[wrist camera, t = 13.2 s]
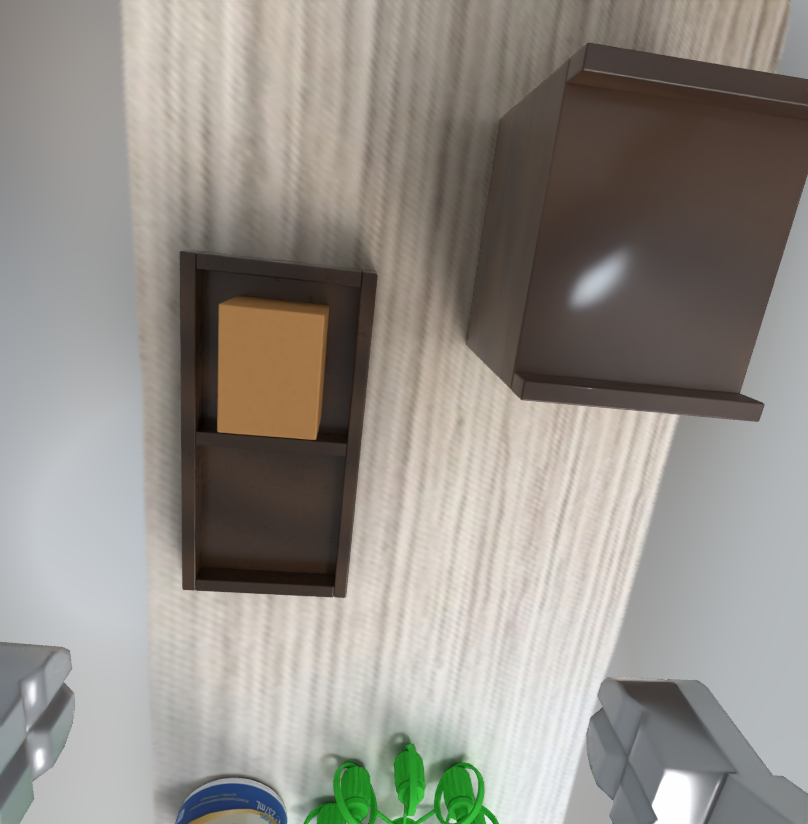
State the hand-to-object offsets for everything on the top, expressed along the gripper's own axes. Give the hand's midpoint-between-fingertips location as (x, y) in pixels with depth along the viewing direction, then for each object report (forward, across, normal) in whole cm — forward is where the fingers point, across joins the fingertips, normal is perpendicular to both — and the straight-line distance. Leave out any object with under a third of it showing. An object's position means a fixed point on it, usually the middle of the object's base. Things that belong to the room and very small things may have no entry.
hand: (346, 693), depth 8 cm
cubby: (+25, -11, -7) cm, 28 cm away
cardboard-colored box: (+24, +5, +1) cm, 24 cm away
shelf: (+24, +5, +5) cm, 25 cm away
